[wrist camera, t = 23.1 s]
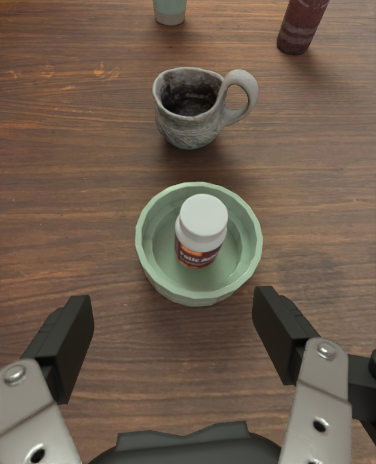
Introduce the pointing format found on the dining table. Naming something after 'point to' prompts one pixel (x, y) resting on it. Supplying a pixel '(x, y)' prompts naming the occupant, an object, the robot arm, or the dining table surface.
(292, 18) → the can
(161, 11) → the coffee cup
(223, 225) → the pill bottle
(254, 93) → the mug
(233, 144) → the dining table surface
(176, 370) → the dining table surface
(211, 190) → the bowl
